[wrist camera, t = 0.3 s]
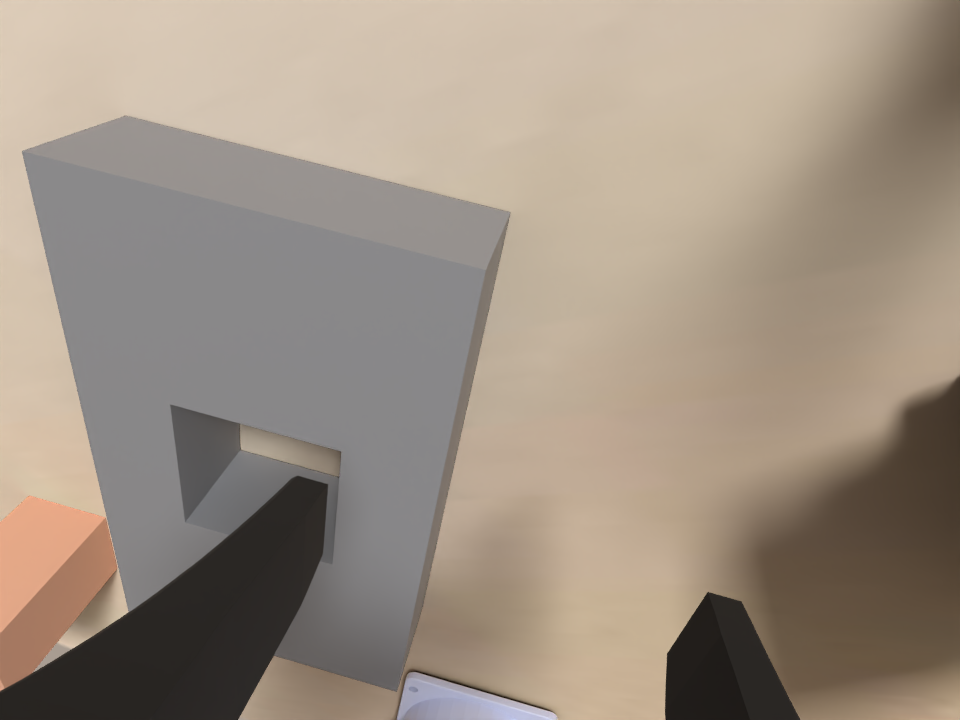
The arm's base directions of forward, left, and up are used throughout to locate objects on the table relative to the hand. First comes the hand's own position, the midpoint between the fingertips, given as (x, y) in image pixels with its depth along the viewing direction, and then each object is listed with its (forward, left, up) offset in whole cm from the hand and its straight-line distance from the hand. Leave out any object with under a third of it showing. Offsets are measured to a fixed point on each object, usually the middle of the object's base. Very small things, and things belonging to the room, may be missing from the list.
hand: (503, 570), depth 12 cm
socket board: (-7, +8, -10) cm, 15 cm away
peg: (-19, +20, -10) cm, 29 cm away
